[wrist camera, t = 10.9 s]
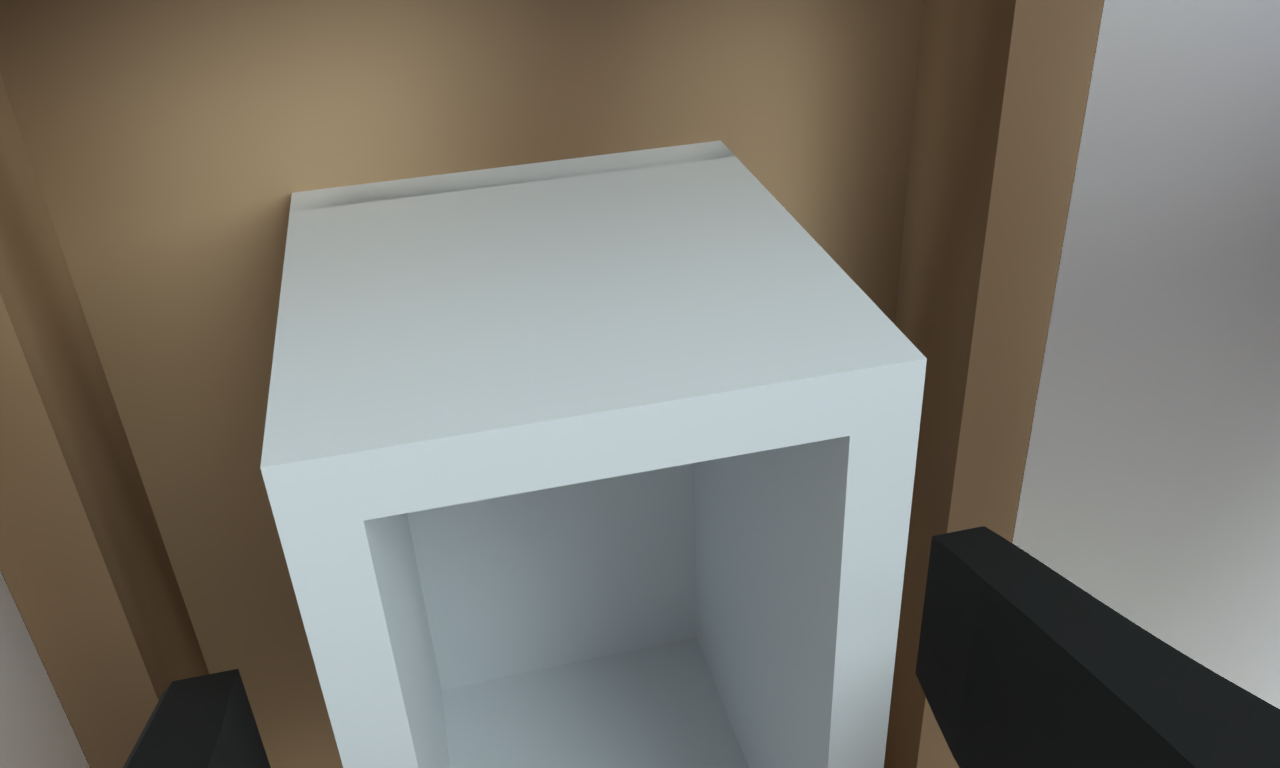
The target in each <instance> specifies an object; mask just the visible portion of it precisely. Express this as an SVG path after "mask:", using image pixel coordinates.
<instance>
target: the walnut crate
mask: <svg viewBox="0 0 1280 768" xmlns="http://www.w3.org/2000/svg"><path fill="white" fill-rule="evenodd" d="M1103 5H1104V0H0V570H1V573H2V575H3V577H4V579H5V581H6V584H7V586H8V588H9V590H10V592H11V595H12V597H13V599H14V601H15V603H16V606H17V608H18V610H19V612H20V614H21V617H22V619H23V621H24V623H25V625H26V628H27V630H28V632H29V634H30V636H31V639H32V641H33V643H34V645H35V647H36V649H37V652H38V654H39V656H40V658H41V660H42V663H43V665H44V667H45V669H46V671H47V674H48V676H49V678H50V680H51V682H52V685H53V687H54V689H55V691H56V693H57V696H58V698H59V700H60V702H61V704H62V707H63V709H64V711H65V713H66V715H67V718H68V720H69V722H70V724H71V726H72V729H73V731H74V733H75V735H76V737H77V739H78V742H79V744H80V746H81V748H82V750H83V753H84V755H85V757H86V759H87V761H88V764H89V766H90V768H123V766H124V764H125V763H126V761H127V759H128V757H129V755H130V753H131V752H132V750H133V748H134V746H135V744H136V742H137V741H138V739H139V737H140V735H141V733H142V731H143V729H144V728H145V726H146V724H147V722H148V720H149V718H150V716H151V714H152V713H153V711H154V709H155V707H156V705H157V703H158V701H159V699H160V697H161V695H162V694H163V692H164V691H165V690H166V688H167V687H168V686H169V685H170V684H171V682H172V681H177V680H182V679H187V678H192V677H197V676H203V675H208V674H213V673H218V672H224V671H229V670H234V669H239V672H240V675H241V679H242V682H243V685H244V688H245V691H246V694H247V697H248V700H249V703H250V706H251V709H252V712H253V715H254V718H255V721H256V724H257V727H258V730H259V733H260V736H261V739H262V742H263V746H264V749H265V752H266V755H267V758H268V761H269V764H270V767H271V768H343V765H342V761H341V758H340V754H339V750H338V747H337V743H336V740H335V736H334V732H333V729H332V725H331V722H330V718H329V714H328V711H327V707H326V704H325V700H324V696H323V693H322V689H321V685H320V682H319V678H318V675H317V671H316V667H315V664H314V660H313V657H312V653H311V649H310V646H309V642H308V639H307V635H306V631H305V628H304V624H303V620H302V617H301V613H300V610H299V606H298V602H297V599H296V595H295V592H294V588H293V584H292V581H291V577H290V573H289V570H288V566H287V563H286V559H285V555H284V552H283V548H282V545H281V541H280V537H279V534H278V530H277V527H276V523H275V519H274V516H273V512H272V508H271V505H270V501H269V498H268V494H267V490H266V487H265V483H264V480H263V476H262V472H261V469H260V466H261V457H262V449H263V440H264V431H265V422H266V414H267V405H268V396H269V387H270V379H271V370H272V361H273V353H274V344H275V335H276V326H277V318H278V309H279V300H280V291H281V283H282V274H283V265H284V257H285V248H286V239H287V230H288V222H289V213H290V204H291V195H292V193H293V192H301V191H310V190H318V189H326V188H334V187H343V186H351V185H359V184H367V183H375V182H384V181H392V180H400V179H408V178H416V177H425V176H433V175H441V174H449V173H457V172H466V171H474V170H482V169H490V168H498V167H507V166H515V165H523V164H531V163H539V162H548V161H556V160H564V159H572V158H580V157H589V156H597V155H605V154H613V153H621V152H630V151H638V150H646V149H654V148H662V147H671V146H679V145H687V144H695V143H703V142H712V141H720V140H721V141H722V142H723V144H724V145H725V146H726V147H727V148H728V149H729V150H730V151H731V152H732V153H733V154H734V155H735V156H736V157H737V158H738V159H739V160H740V162H741V163H742V164H743V165H744V166H745V167H746V168H747V169H748V170H749V171H750V172H751V173H752V174H753V175H754V176H755V177H756V178H757V179H758V181H759V182H760V183H761V184H762V185H763V186H764V187H765V188H766V189H767V190H768V191H769V192H770V193H771V194H772V195H773V196H774V197H775V199H776V200H777V201H778V202H779V203H780V204H781V205H782V206H783V207H784V208H785V209H786V210H787V211H788V212H789V213H790V214H791V215H792V217H793V218H794V219H795V220H796V221H797V222H798V223H799V224H800V225H801V226H802V227H803V228H804V229H805V230H806V231H807V232H808V233H809V235H810V236H811V237H812V238H813V239H814V240H815V241H816V242H817V243H818V244H819V245H820V246H821V247H822V248H823V249H824V250H825V251H826V252H827V254H828V255H829V256H830V257H831V258H832V259H833V260H834V261H835V262H836V263H837V264H838V265H839V266H840V267H841V268H842V269H843V270H844V272H845V273H846V274H847V275H848V276H849V277H850V278H851V279H852V280H853V281H854V282H855V283H856V284H857V285H858V286H859V287H860V288H861V290H862V291H863V292H864V293H865V294H866V295H867V296H868V297H869V298H870V299H871V300H872V301H873V302H874V303H875V304H876V305H877V306H878V307H879V309H880V310H881V311H882V312H883V313H884V314H885V315H886V316H887V317H888V318H889V319H890V320H891V321H892V322H893V323H894V324H895V325H896V327H897V328H898V329H899V330H900V331H901V332H902V333H903V334H904V335H905V336H906V337H907V338H908V339H909V340H910V341H911V342H912V343H913V345H914V346H915V347H916V348H917V349H918V350H919V351H920V352H921V353H922V354H923V355H924V356H925V357H926V358H927V363H926V372H925V382H924V391H923V401H922V410H921V420H920V429H919V439H918V448H917V457H916V467H915V476H914V486H913V495H912V505H911V514H910V524H909V533H908V542H907V552H906V561H905V571H904V580H903V590H902V599H901V608H900V618H899V627H898V637H897V646H896V656H895V665H894V675H893V684H892V693H891V703H890V712H889V722H888V731H887V741H886V750H885V759H884V768H959V766H958V764H957V762H956V761H955V759H954V757H953V755H952V753H951V751H950V749H949V747H948V744H947V742H946V740H945V738H944V736H943V734H942V732H941V730H940V728H939V725H938V723H937V721H936V719H935V717H934V714H933V712H932V710H931V708H930V705H929V703H928V701H927V698H926V696H925V694H924V692H923V689H922V687H921V685H920V682H919V680H918V678H917V676H916V664H917V656H918V648H919V640H920V631H921V623H922V615H923V607H924V598H925V590H926V582H927V574H928V565H929V557H930V549H931V541H932V536H935V535H940V534H945V533H951V532H956V531H961V530H966V529H971V528H977V527H982V526H985V527H987V528H988V529H990V530H992V531H993V532H995V533H997V534H998V535H1000V536H1001V537H1003V538H1005V539H1006V540H1008V541H1009V542H1011V543H1012V540H1013V534H1014V528H1015V523H1016V517H1017V511H1018V505H1019V499H1020V493H1021V487H1022V481H1023V476H1024V470H1025V464H1026V458H1027V452H1028V446H1029V440H1030V434H1031V429H1032V423H1033V417H1034V411H1035V405H1036V399H1037V393H1038V387H1039V382H1040V376H1041V370H1042V364H1043V358H1044V352H1045V346H1046V340H1047V335H1048V329H1049V323H1050V317H1051V311H1052V305H1053V299H1054V293H1055V288H1056V282H1057V276H1058V270H1059V264H1060V258H1061V252H1062V246H1063V241H1064V235H1065V229H1066V223H1067V217H1068V211H1069V205H1070V199H1071V193H1072V188H1073V182H1074V176H1075V170H1076V164H1077V158H1078V152H1079V146H1080V141H1081V135H1082V129H1083V123H1084V117H1085V111H1086V105H1087V99H1088V94H1089V88H1090V82H1091V76H1092V70H1093V64H1094V58H1095V52H1096V47H1097V41H1098V35H1099V29H1100V23H1101V17H1102V11H1103Z"/></svg>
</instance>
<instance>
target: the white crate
mask: <svg viewBox="0 0 1280 768" xmlns="http://www.w3.org/2000/svg"><path fill="white" fill-rule="evenodd" d="M926 363H927V358H926V357H925V356H924V355H923V354H922V353H921V352H920V351H919V350H918V349H917V348H916V347H915V346H914V345H913V343H912V342H911V341H910V340H909V339H908V338H907V337H906V336H905V335H904V334H903V333H902V332H901V331H900V330H899V329H898V328H897V327H896V325H895V324H894V323H893V322H892V321H891V320H890V319H889V318H888V317H887V316H886V315H885V314H884V313H883V312H882V311H881V310H880V309H879V307H878V306H877V305H876V304H875V303H874V302H873V301H872V300H871V299H870V298H869V297H868V296H867V295H866V294H865V293H864V292H863V291H862V290H861V288H860V287H859V286H858V285H857V284H856V283H855V282H854V281H853V280H852V279H851V278H850V277H849V276H848V275H847V274H846V273H845V272H844V270H843V269H842V268H841V267H840V266H839V265H838V264H837V263H836V262H835V261H834V260H833V259H832V258H831V257H830V256H829V255H828V254H827V252H826V251H825V250H824V249H823V248H822V247H821V246H820V245H819V244H818V243H817V242H816V241H815V240H814V239H813V238H812V237H811V236H810V235H809V233H808V232H807V231H806V230H805V229H804V228H803V227H802V226H801V225H800V224H799V223H798V222H797V221H796V220H795V219H794V218H793V217H792V215H791V214H790V213H789V212H788V211H787V210H786V209H785V208H784V207H783V206H782V205H781V204H780V203H779V202H778V201H777V200H776V199H775V197H774V196H773V195H772V194H771V193H770V192H769V191H768V190H767V189H766V188H765V187H764V186H763V185H762V184H761V183H760V182H759V181H758V179H757V178H756V177H755V176H754V175H753V174H752V173H751V172H750V171H749V170H748V169H747V168H746V167H745V166H744V165H743V164H742V163H741V162H740V160H739V159H738V158H737V157H736V156H735V155H734V154H733V153H732V152H731V151H730V150H729V149H728V148H727V147H726V146H725V145H724V144H723V142H722V141H721V140H720V141H712V142H703V143H695V144H687V145H679V146H671V147H662V148H654V149H646V150H638V151H630V152H621V153H613V154H605V155H597V156H589V157H580V158H572V159H564V160H556V161H548V162H539V163H531V164H523V165H515V166H507V167H498V168H490V169H482V170H474V171H466V172H457V173H449V174H441V175H433V176H425V177H416V178H408V179H400V180H392V181H384V182H375V183H367V184H359V185H351V186H343V187H334V188H326V189H318V190H310V191H301V192H293V193H292V195H291V204H290V213H289V222H288V230H287V239H286V248H285V257H284V265H283V274H282V283H281V291H280V300H279V309H278V318H277V326H276V335H275V344H274V353H273V361H272V370H271V379H270V387H269V396H268V405H267V414H266V422H265V431H264V440H263V449H262V457H261V466H260V469H261V472H262V476H263V480H264V483H265V487H266V490H267V494H268V498H269V501H270V505H271V508H272V512H273V516H274V519H275V523H276V527H277V530H278V534H279V537H280V541H281V545H282V548H283V552H284V555H285V559H286V563H287V566H288V570H289V573H290V577H291V581H292V584H293V588H294V592H295V595H296V599H297V602H298V606H299V610H300V613H301V617H302V620H303V624H304V628H305V631H306V635H307V639H308V642H309V646H310V649H311V653H312V657H313V660H314V664H315V667H316V671H317V675H318V678H319V682H320V685H321V689H322V693H323V696H324V700H325V704H326V707H327V711H328V714H329V718H330V722H331V725H332V729H333V732H334V736H335V740H336V743H337V747H338V750H339V754H340V758H341V761H342V765H343V768H884V759H885V750H886V741H887V731H888V722H889V712H890V703H891V693H892V684H893V675H894V665H895V656H896V646H897V637H898V627H899V618H900V608H901V599H902V590H903V580H904V571H905V561H906V552H907V542H908V533H909V524H910V514H911V505H912V495H913V486H914V476H915V467H916V457H917V448H918V439H919V429H920V420H921V410H922V401H923V391H924V382H925V372H926Z"/></svg>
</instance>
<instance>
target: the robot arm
mask: <svg viewBox="0 0 1280 768" xmlns="http://www.w3.org/2000/svg"><path fill="white" fill-rule="evenodd" d="M916 676H917V678H918V680H919V682H920V685H921V687H922V689H923V692H924V694H925V696H926V698H927V701H928V703H929V705H930V708H931V710H932V712H933V714H934V717H935V719H936V721H937V723H938V725H939V728H940V730H941V732H942V734H943V736H944V738H945V740H946V742H947V744H948V747H949V749H950V751H951V753H952V755H953V757H954V759H955V761H956V762H957V764H958V766H959V768H1280V709H1278V708H1276V707H1274V706H1272V705H1271V704H1269V703H1267V702H1265V701H1264V700H1262V699H1260V698H1258V697H1257V696H1255V695H1253V694H1251V693H1250V692H1248V691H1246V690H1244V689H1243V688H1241V687H1239V686H1237V685H1235V684H1234V683H1232V682H1230V681H1228V680H1227V679H1225V678H1223V677H1221V676H1220V675H1218V674H1216V673H1214V672H1213V671H1211V670H1209V669H1208V668H1206V667H1204V666H1203V665H1201V664H1199V663H1198V662H1196V661H1194V660H1193V659H1191V658H1189V657H1188V656H1186V655H1184V654H1183V653H1181V652H1179V651H1178V650H1176V649H1174V648H1173V647H1171V646H1170V645H1168V644H1166V643H1165V642H1163V641H1162V640H1160V639H1158V638H1157V637H1155V636H1154V635H1152V634H1150V633H1149V632H1147V631H1146V630H1144V629H1142V628H1141V627H1139V626H1138V625H1136V624H1135V623H1133V622H1131V621H1130V620H1128V619H1127V618H1125V617H1124V616H1122V615H1120V614H1119V613H1117V612H1116V611H1114V610H1113V609H1111V608H1110V607H1108V606H1107V605H1105V604H1103V603H1102V602H1100V601H1099V600H1097V599H1096V598H1094V597H1093V596H1091V595H1090V594H1088V593H1087V592H1085V591H1084V590H1082V589H1081V588H1079V587H1078V586H1076V585H1075V584H1073V583H1072V582H1070V581H1068V580H1067V579H1065V578H1064V577H1062V576H1061V575H1059V574H1058V573H1056V572H1055V571H1053V570H1052V569H1050V568H1049V567H1047V566H1046V565H1044V564H1043V563H1041V562H1040V561H1038V560H1037V559H1035V558H1034V557H1032V556H1031V555H1029V554H1028V553H1026V552H1025V551H1023V550H1022V549H1020V548H1018V547H1017V546H1015V545H1014V544H1012V543H1011V542H1009V541H1008V540H1006V539H1005V538H1003V537H1001V536H1000V535H998V534H997V533H995V532H993V531H992V530H990V529H988V528H987V527H985V526H982V527H977V528H971V529H966V530H961V531H956V532H951V533H945V534H940V535H935V536H932V541H931V549H930V557H929V565H928V574H927V582H926V590H925V598H924V607H923V615H922V623H921V631H920V640H919V648H918V656H917V664H916ZM123 768H271V767H270V764H269V761H268V758H267V755H266V752H265V749H264V746H263V742H262V739H261V736H260V733H259V730H258V727H257V724H256V721H255V718H254V715H253V712H252V709H251V706H250V703H249V700H248V697H247V694H246V691H245V688H244V685H243V682H242V679H241V675H240V672H239V669H234V670H229V671H224V672H218V673H213V674H208V675H203V676H197V677H192V678H187V679H182V680H177V681H172V682H171V684H170V685H169V686H168V687H167V688H166V690H165V691H164V692H163V694H162V695H161V697H160V699H159V701H158V703H157V705H156V707H155V709H154V711H153V713H152V714H151V716H150V718H149V720H148V722H147V724H146V726H145V728H144V729H143V731H142V733H141V735H140V737H139V739H138V741H137V742H136V744H135V746H134V748H133V750H132V752H131V753H130V755H129V757H128V759H127V761H126V763H125V764H124V766H123Z"/></svg>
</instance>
